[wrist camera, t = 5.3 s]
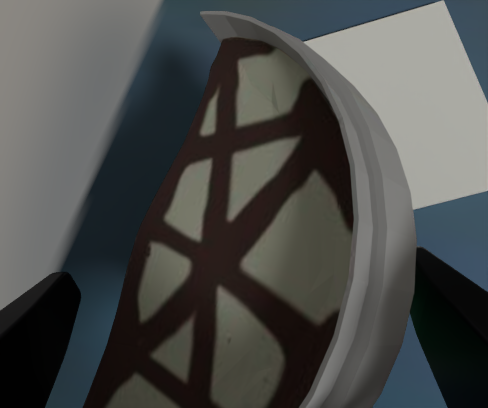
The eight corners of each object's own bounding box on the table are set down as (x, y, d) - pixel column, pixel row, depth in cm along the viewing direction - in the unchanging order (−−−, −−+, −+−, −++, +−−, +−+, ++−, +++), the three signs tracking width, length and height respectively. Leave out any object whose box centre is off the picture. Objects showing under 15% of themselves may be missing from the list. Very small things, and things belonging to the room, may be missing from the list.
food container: (378, 488, 12) (215, 852, 4) (245, 391, 16) (15, 484, 8) (481, 171, 13) (518, -55, 5) (332, 146, 17) (208, -9, 8)
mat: (515, 183, 16) (521, 181, 16) (267, 246, 17) (267, 246, 16) (440, 6, 18) (443, 0, 18) (222, 70, 19) (220, 66, 18)
